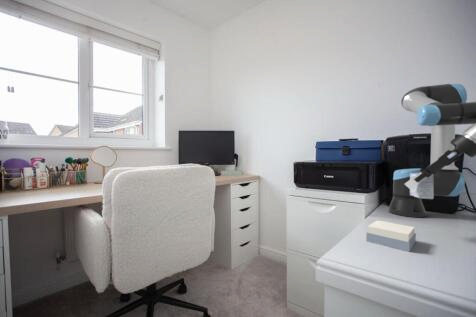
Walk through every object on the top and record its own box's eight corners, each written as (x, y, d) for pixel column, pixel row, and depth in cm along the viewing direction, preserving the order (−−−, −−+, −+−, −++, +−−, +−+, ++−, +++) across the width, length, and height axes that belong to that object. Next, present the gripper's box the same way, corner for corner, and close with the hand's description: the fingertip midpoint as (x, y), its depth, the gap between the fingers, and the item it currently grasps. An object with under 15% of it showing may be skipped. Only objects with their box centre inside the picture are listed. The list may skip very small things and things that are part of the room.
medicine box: (433, 199, 76) (434, 174, 76) (418, 198, 77) (418, 173, 77) (423, 196, 83) (423, 173, 83) (409, 195, 85) (409, 172, 85)
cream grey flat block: (376, 233, 83) (376, 219, 83) (415, 241, 74) (415, 226, 74) (366, 240, 74) (366, 226, 74) (409, 251, 66) (409, 235, 66)
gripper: (487, 147, 62) (414, 197, 73) (482, 150, 77) (422, 191, 88) (460, 130, 65) (395, 179, 77) (461, 136, 81) (406, 177, 92)
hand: (409, 185), depth 82 cm, fingers closed on medicine box, 9 cm apart
